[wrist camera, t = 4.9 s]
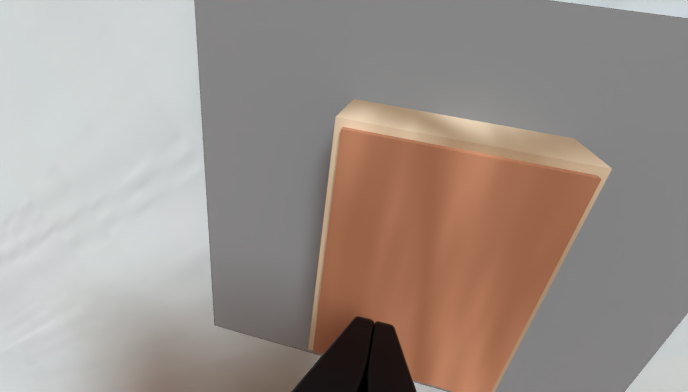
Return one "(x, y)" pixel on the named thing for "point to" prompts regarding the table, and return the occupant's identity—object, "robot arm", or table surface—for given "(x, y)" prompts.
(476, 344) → the maple tile
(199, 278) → the table surface
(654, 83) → the slate mat
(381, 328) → the robot arm
